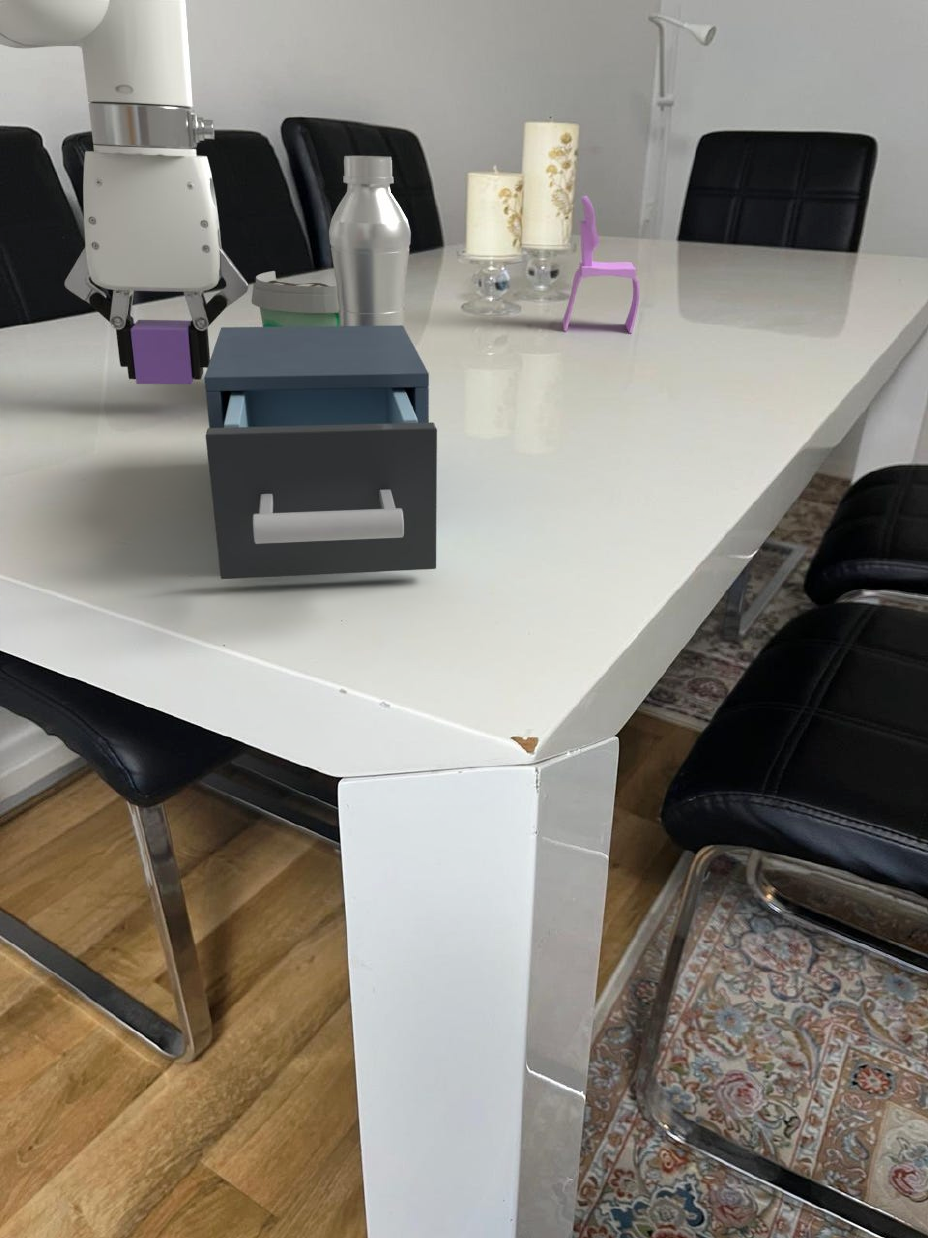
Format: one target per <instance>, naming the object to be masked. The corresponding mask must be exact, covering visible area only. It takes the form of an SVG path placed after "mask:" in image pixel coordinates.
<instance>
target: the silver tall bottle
mask: <svg viewBox="0 0 928 1238" xmlns="http://www.w3.org/2000/svg"><path fill="white" fill-rule="evenodd" d="M343 168H344V170H343V171H344V173H343V174H344V175H343V176H342V179H343V181H342V182H343V183H344V184H347V188H346V192H345V195H344V196H343V198H342V199H341V201H340V202H339V204H338V206H337V207H336V210H335V211H334V213H333V216H332V217H331V221H330V225H329V229H328V239H329V245H330V252H331V259H332V264H333V271H334V276H335V284H336V286H337V296H338V302H339V308H338V309H339V326H400V325H403V326H404V327H405V307H404V305H405V304H404V303H405V301H406V280H407V272H408V265H409V258H410V257H409V256H410V245H411V238H412V237H411V236H412V232H411V228H410V224H409V221H408V218H407V217H406V215H405V213H404V211H403V209H402V207H401V206H400V204H399V203H398V201H397V200H396V198H395V197H394V195H393V194H392V193H391V187H390V185H391V184H394V181H395V180H394V176H393V160H392V156H383V155H382V156H381V155H344V158H343Z"/></svg>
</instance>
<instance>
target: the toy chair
mask: <svg viewBox="0 0 928 1238" xmlns="http://www.w3.org/2000/svg"><path fill="white" fill-rule="evenodd" d="M580 199H581V203H582V210H583V214H584V215H583V217H584V220H580V221H579V229H580V249H581V250H580V251H581V260H579V265H578V267H579V268H578V269H577V270H576V271H575V273H574V277H573V280H572V285H571V291H570V295H569V299H568V303H567V306H566V310H565V313H564V316H563V319H562V328H564V329H563V331H564V332H567V331H568V328H569V324H570V319H571V316H572V312H573V307H574V304H575V299H576V295H577V292H578V289H579V285H580V283H581V281H582V280H583V279H585V278H588V277H589V278H590V277H603V276H610V277H611V276H612V277H618V278H619V277H620V278H628V279H631V281H632V301H631V305H630V308H629V312H628V315H627V317H626V320H625V323H624V325H625V327H626V330H627V332H628V333H629V334H633V332H634V328H635V323H636V319H637V316H638V315H637V314H638V310H639V304H640V281H639V279H638V278H637V268H636V267H635V266H634V264H633V262H631V261H614V262H613V261H611V262H608V261H607V262H606V261H594V260H593V257H594V250H595V248H597V247H598V246H599V243H600V238H599V235H598V232H597V231H598V230H597V226H596V214H595V210H594V207H593V204H592V202H591V200H590V198H589V197H588V195H582V196H581V198H580Z"/></svg>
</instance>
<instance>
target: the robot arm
mask: <svg viewBox="0 0 928 1238" xmlns="http://www.w3.org/2000/svg"><path fill="white" fill-rule="evenodd" d="M186 5H187V3H186V0H0V45H1V46H4V47H8V48H13V49H37V48H50V47H79V48H81V50H82V52H81V53H82V60H83V69H84V77H85V78H84V79H85V85H86V94H87V102H88V110H89V111H88V112H89V120H90V127H91V136H92V137H91V138H92V143H93V146H92V147H93V151H92V150H89V151H88V150H87V151H85V152H84V160H83V161H84V162H83V182H82V183H83V184H82V185H83V186H82V187H83V188H82V190H83V191H82V193H83V195H82V197H83V225H84V241H85V244H84V245H85V246H84V248H83V249H82V251H81V253H80V255H79V256H78V257H77V259H76V261H75V263H74V265H73V267H72V268H71V270H70V272H69V273H68V275H67V277H66V278H65V280H64V287H65V288H66V289H67V290H68V291H69V292H71V293H72V294H74V295H75V296H77V297H78V298H80V299H81V300H83V301H84V302H87V303H88V304H89V305H90V306H91V307H92V308H93V309H95V311H96V312H97V313H99V315H101V316H102V317H103V318H104V319H105V320H107V321H108V322H109V323H110V326H111V327H112V328H113V329H115V332H116V333H115V334H116V342H117V351H118V358H119V359H118V360H119V365H120V367H121V368H127V376H128V379H129V380H136V376H135V366H134V357H133V348H132V339H131V328H132V327H133V326H134V324H135V321H134V317H133V316H132V309H133V301H134V293H135V292H136V291H137V292H171V293H172V292H179V293H182V292H183V295H184V298H185V301H186V305H187V307H188V311H189V314H190V316H191V320H190V321H191V322H190V324H191V328H190V330H189V346H190V358H191V371H192V378H194V379H193V381H194V380H196V381H197V380H198V381H201V380H202V377H203V376H204V368H205V369H207V368H208V365H209V362H210V359H211V356H210V342H209V341H210V340H209V326H210V325H211V324H213V322H214V321H216V319H217V318H218V317H219V316H220V315H221V314H222V313H223V311H225V310H226V309H227V308H228V307H229V306H231V305H232V304H233V303H235V302H236V301H238V300H239V299H240V298H241V297H242V296H244V295H245V294H246V293H247V292H248V290H249V283H248V282H247V280H246V279H245V278H244V276H243V275H242V273H241V272H240V271H239V269H238V268H237V267H236V266H235V264H234V263H233V261H232V260H231V259H230V257H229V256H228V255H227V253H226V252H225V251H224V249H223V248H222V240H221V230H220V221H219V220H220V219H219V213H218V205H217V198H216V197H217V196H216V191H215V186H214V185H215V184H214V181H213V176H212V175H213V174H212V170H211V167H210V163H209V159H208V156H207V155H198V154H197V148H198V144H200V143H201V141H202V142H203V141H206V140H215V124H214V122H215V121H214V119H204V117H203V116H200V117H199V115H198V114H195V109H191V108H194V103H193V102H194V101H193V90H192V75H191V62H190V48H189V46H190V45H189V35H188V34H189V33H188V18H187V6H186ZM221 279H223V280H224V281H225V287H224V288H222V289H221V290H220V291H219V292H217V293H216V294H214V295H213V296H212V297H211V298H210V300H209V301H208V302H207V299H206V296H205V291H206V292H207V291H209V290H211V289H212V290H213V288H215V287H216V286H217V285H218V284H219V281H220V280H221ZM90 280H91V281H92V282H93V284H92V283H91V281H90ZM96 285H97V286H98V287H100V288H103V289H106V290H112V297H111V296H110V295H109V294H108V293H107V292H105V291H103V290H101V289H99V288H98V287H96Z"/></svg>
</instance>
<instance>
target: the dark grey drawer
mask: <svg viewBox="0 0 928 1238" xmlns="http://www.w3.org/2000/svg"><path fill="white" fill-rule="evenodd" d="M437 428H438V427H436V425H435V422H432V421H431V422H430V421H429V423H418V420H417V418H416V415H415V413H414V411H413V408H412V406H411V403H410V401H409V399H408V396H407V394H406V391H405V389H404V387H396V388H347V389H297V390H247V391H231V395H230V400H229V404H228V409H227V413H226V418H225V422H224V428H209V427H208V428H206V432H205V444H206V453H207V463H208V464H207V465H208V473H209V482H210V490H211V491H210V492H211V501H212V508H213V517H214V519H213V520H214V528H215V537H216V546H217V556H218V564H219V565H218V566H219V573H220V579H221V580H233V579H234V580H235V579H237V580H238V579H254V578H275V577H297V576H298V577H299V576H317V575H338V574H356V573H358V574H359V573H380V572H401V571H417V570H419V571H421V570H436V569H437V516H438V515H437V511H438V510H437V509H438V508H437V507H438V505H437V502H438V501H437V500H438V499H437V497H438V495H437V494H438V492H437V491H438V488H437V487H438V484H437V483H438V482H437V481H438V429H437Z"/></svg>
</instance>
